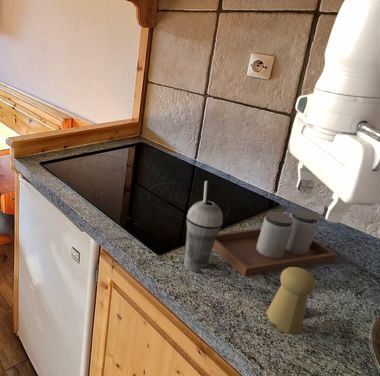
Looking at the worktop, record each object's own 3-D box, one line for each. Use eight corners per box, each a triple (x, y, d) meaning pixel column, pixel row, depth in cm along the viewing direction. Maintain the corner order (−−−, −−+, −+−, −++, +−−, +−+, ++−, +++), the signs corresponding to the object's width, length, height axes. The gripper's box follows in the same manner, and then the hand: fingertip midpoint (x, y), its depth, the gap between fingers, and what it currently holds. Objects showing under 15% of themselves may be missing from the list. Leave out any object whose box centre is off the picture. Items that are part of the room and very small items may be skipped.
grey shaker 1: (270, 243, 97) (280, 209, 93) (289, 256, 92) (301, 222, 88) (250, 246, 95) (259, 212, 91) (268, 260, 90) (279, 225, 86)
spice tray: (286, 233, 102) (289, 223, 101) (333, 264, 90) (337, 254, 89) (204, 244, 97) (207, 234, 96) (243, 279, 85) (246, 268, 84)
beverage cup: (208, 279, 85) (228, 193, 76) (173, 268, 88) (189, 184, 79) (215, 262, 90) (234, 180, 82) (182, 252, 94) (197, 172, 85)
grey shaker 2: (294, 239, 98) (305, 206, 94) (314, 252, 93) (327, 218, 89) (275, 242, 97) (285, 209, 93) (294, 256, 92) (305, 221, 88)
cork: (266, 305, 78) (281, 258, 73) (302, 317, 75) (320, 269, 70) (263, 325, 73) (279, 275, 68) (301, 338, 70) (321, 288, 65)
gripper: (425, 137, 44) (379, 244, 50) (337, 97, 63) (310, 179, 68) (361, 134, 45) (324, 239, 51) (293, 95, 64) (271, 176, 69)
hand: (316, 204), depth 60 cm, fingers open, 8 cm apart
